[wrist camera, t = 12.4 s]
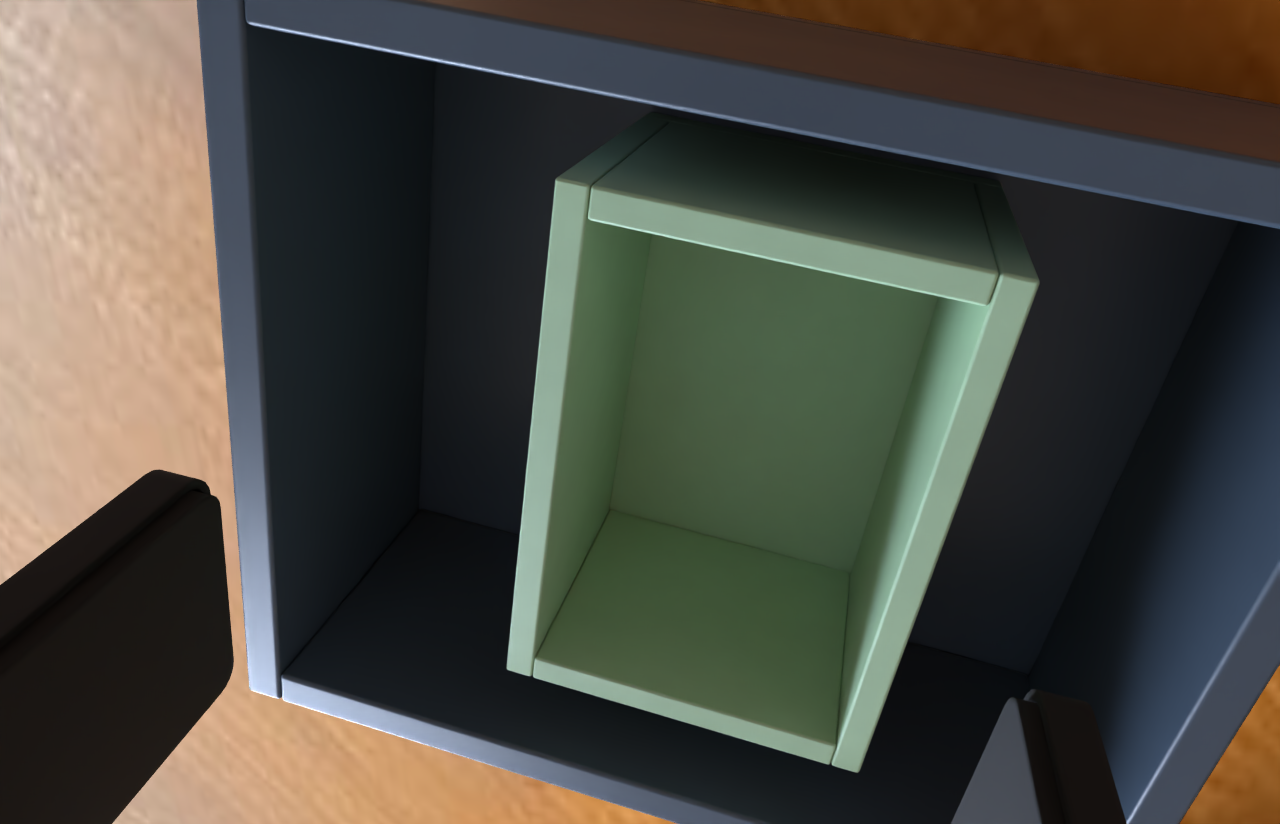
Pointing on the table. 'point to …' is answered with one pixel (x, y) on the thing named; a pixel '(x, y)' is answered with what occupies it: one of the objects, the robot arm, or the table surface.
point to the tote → (507, 361)
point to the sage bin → (755, 424)
